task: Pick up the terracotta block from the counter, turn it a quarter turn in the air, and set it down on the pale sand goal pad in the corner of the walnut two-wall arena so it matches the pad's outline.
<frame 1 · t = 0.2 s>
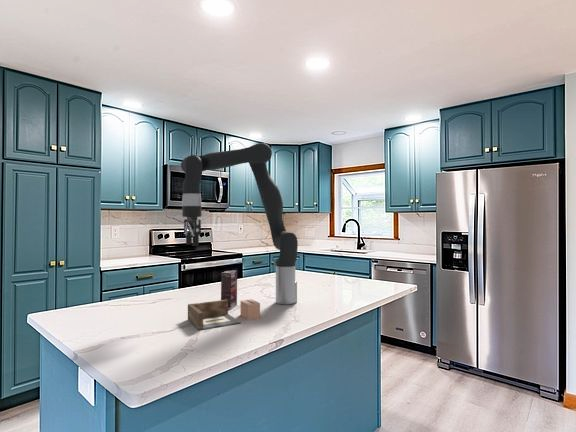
hand: (192, 245, 145), 29 cm above the counter, tool pointing down, fingers open, 8 cm apart
arena: (213, 321, 137), on the counter
supplement box: (229, 307, 159), on the counter
terracotta block: (250, 316, 145), on the counter
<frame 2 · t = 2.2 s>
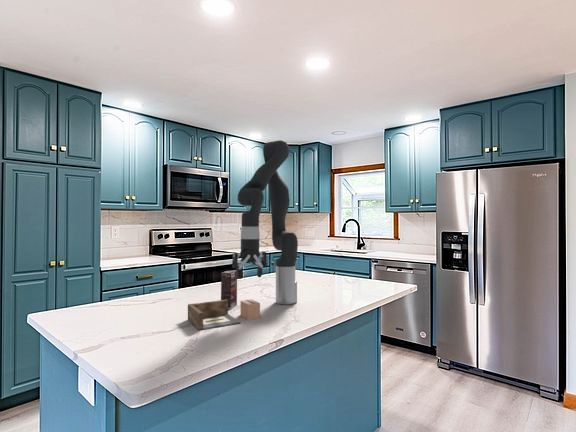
hand: (249, 277, 145), 16 cm above the counter, tool pointing down, fingers open, 8 cm apart
nothing on the counter moved.
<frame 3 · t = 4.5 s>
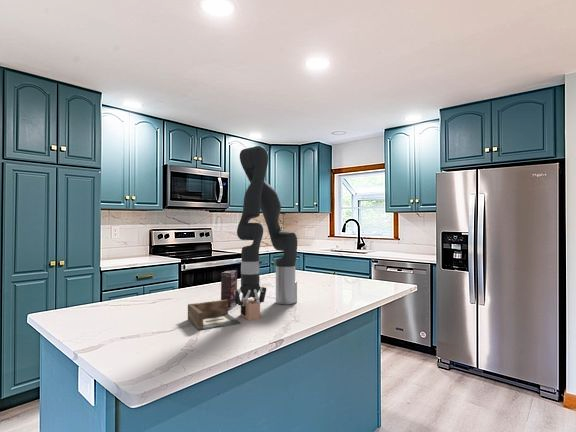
hand: (250, 314, 144), 1 cm above the counter, tool pointing down, fingers closed on terracotta block, 5 cm apart
terracotta block: (250, 316, 144), on the counter, touching gripper
everything else where it was.
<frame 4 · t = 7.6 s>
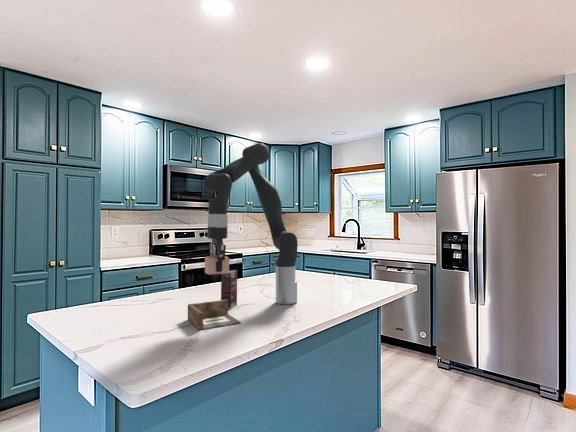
hand: (216, 270, 137), 20 cm above the counter, tool pointing down, fingers closed on terracotta block, 5 cm apart
terracotta block: (216, 272, 137), point 19 cm above the counter, touching gripper
everything else where it was.
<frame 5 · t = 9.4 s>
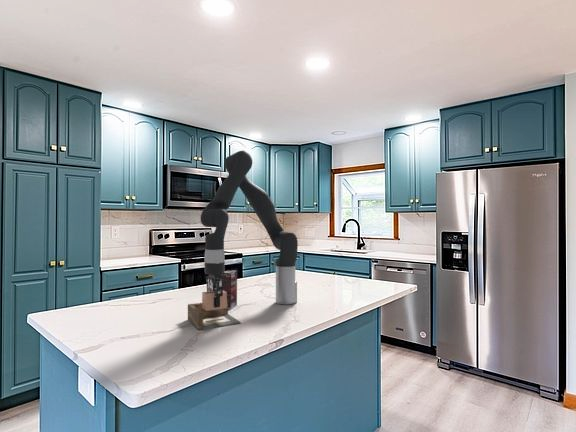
hand: (214, 305, 137), 6 cm above the counter, tool pointing down, fingers closed on terracotta block, 5 cm apart
terracotta block: (214, 307, 137), point 5 cm above the counter, touching gripper
everything else where it was.
when the fingers open (3 cm above the counter, at t = 10.7 s): terracotta block stays where it is, resting on arena.
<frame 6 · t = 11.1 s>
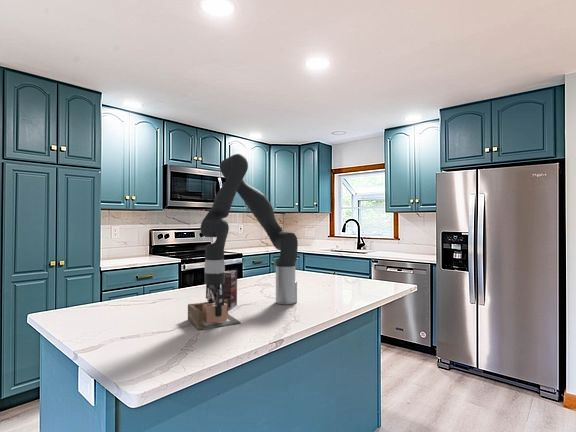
hand: (214, 313, 136), 3 cm above the counter, tool pointing down, fingers open, 8 cm apart
terracotta block: (214, 320, 136), point 1 cm above the counter, touching arena
everything else where it was.
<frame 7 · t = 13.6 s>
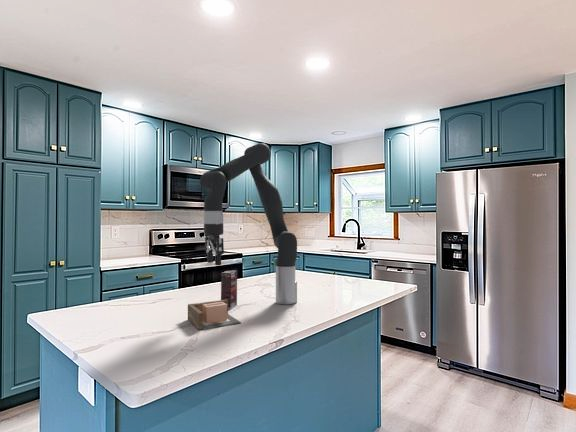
hand: (214, 263, 141), 22 cm above the counter, tool pointing down, fingers open, 8 cm apart
nothing on the counter moved.
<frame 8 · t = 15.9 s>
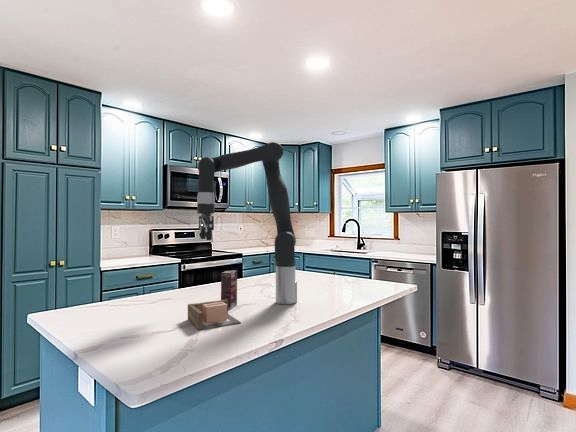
hand: (206, 239, 159), 30 cm above the counter, tool pointing down, fingers open, 8 cm apart
nothing on the counter moved.
at the end: terracotta block 0.0 cm from the target spot, point 0.8 cm above the counter; terracotta block tilted 0°; the gripper is holding nothing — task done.
